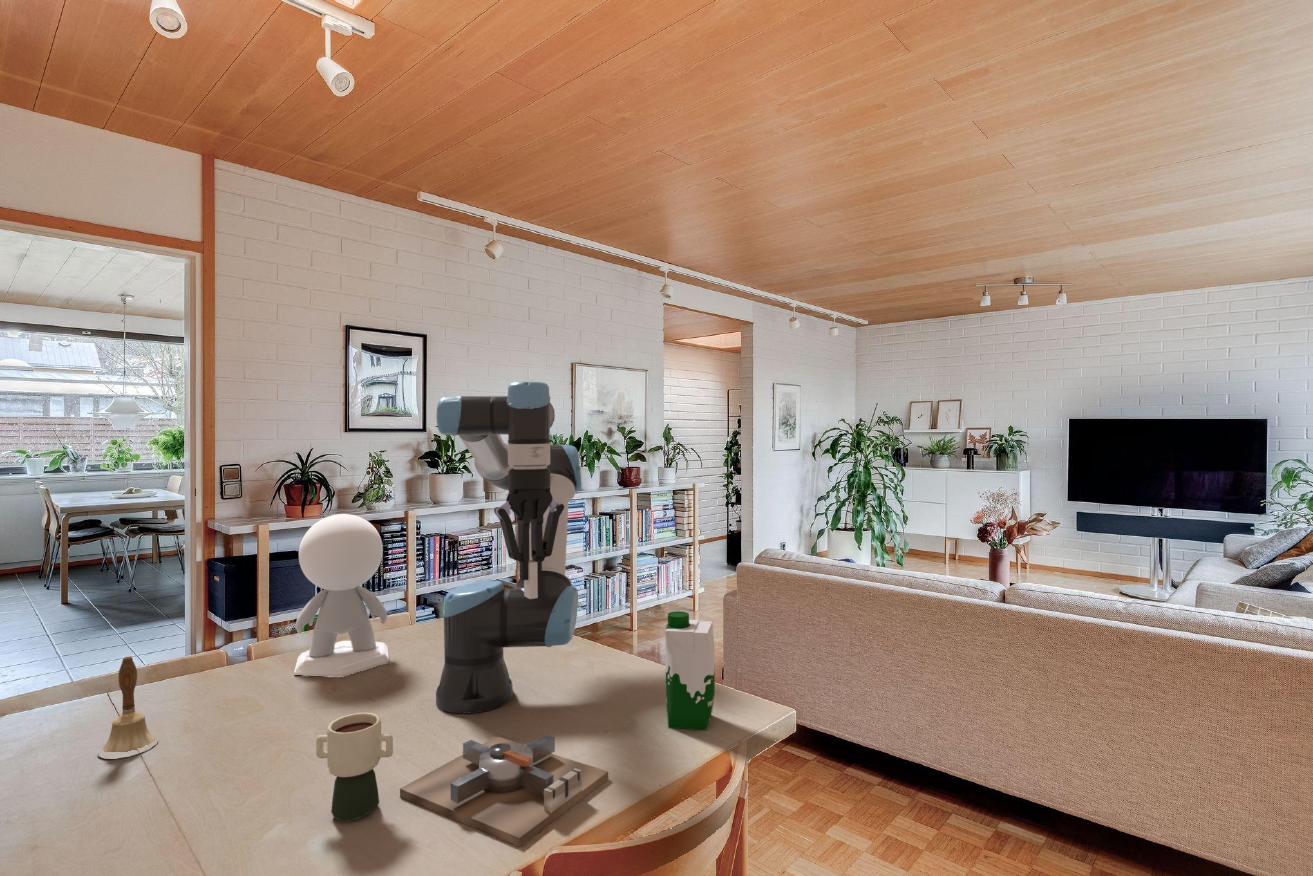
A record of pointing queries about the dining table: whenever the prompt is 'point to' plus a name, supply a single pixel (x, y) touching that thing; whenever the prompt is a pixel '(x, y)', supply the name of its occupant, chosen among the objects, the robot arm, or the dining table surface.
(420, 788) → the wooden mounting board
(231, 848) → the dining table surface
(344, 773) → the character mug
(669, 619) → the milk carton
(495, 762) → the four-spoke handwheel
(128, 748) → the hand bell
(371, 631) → the big headed doll
